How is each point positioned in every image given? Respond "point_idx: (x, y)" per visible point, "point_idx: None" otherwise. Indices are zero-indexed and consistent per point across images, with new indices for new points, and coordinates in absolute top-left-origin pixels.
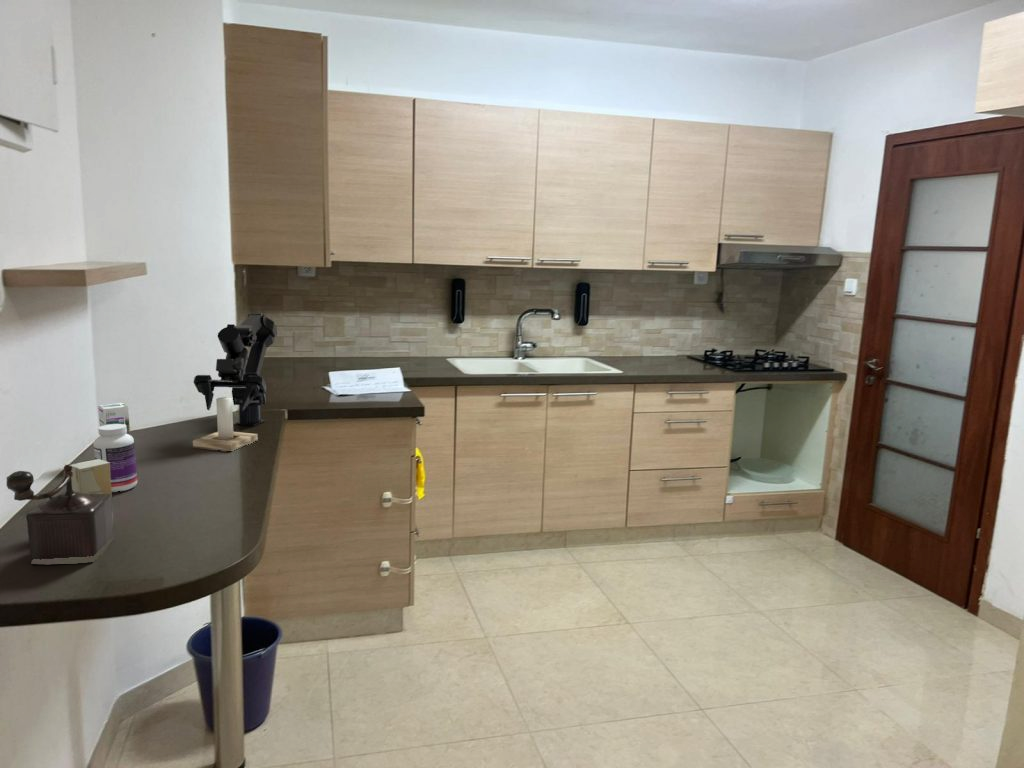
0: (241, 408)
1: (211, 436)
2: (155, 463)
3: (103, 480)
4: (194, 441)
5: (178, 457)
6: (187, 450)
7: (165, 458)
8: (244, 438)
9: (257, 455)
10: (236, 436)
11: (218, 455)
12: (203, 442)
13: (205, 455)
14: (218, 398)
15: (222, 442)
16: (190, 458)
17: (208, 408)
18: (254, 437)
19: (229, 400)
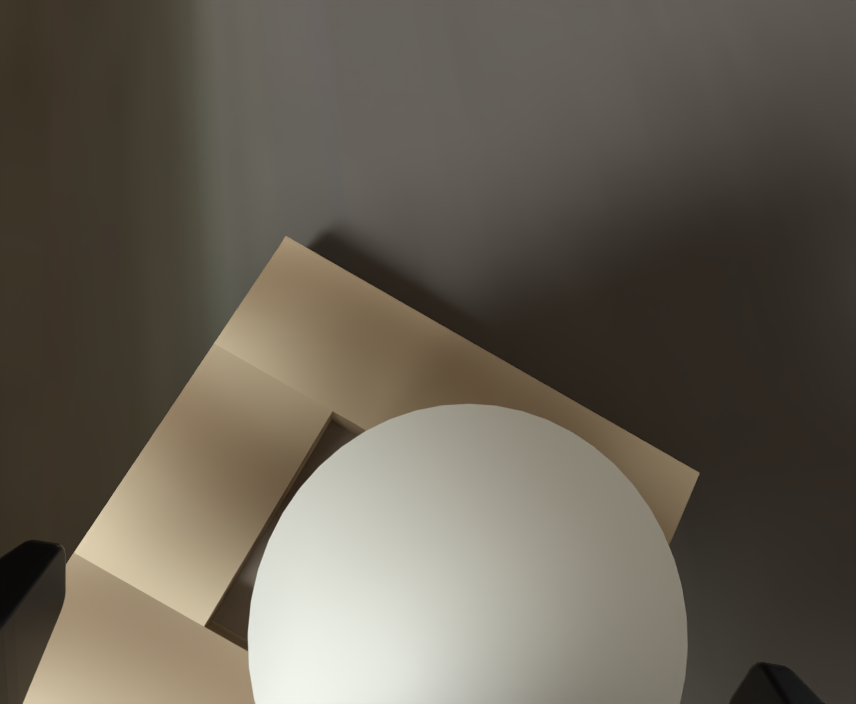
0: (50, 544)
1: None
2: (818, 78)
3: None
4: (679, 463)
5: (704, 196)
6: (691, 399)
7: (792, 189)
8: (150, 488)
9: (37, 112)
10: None
11: (393, 185)
12: (581, 407)
13: (503, 208)
14: (640, 682)
15: (385, 347)
16: (605, 148)
17: (753, 677)
18: None
19: (305, 482)
